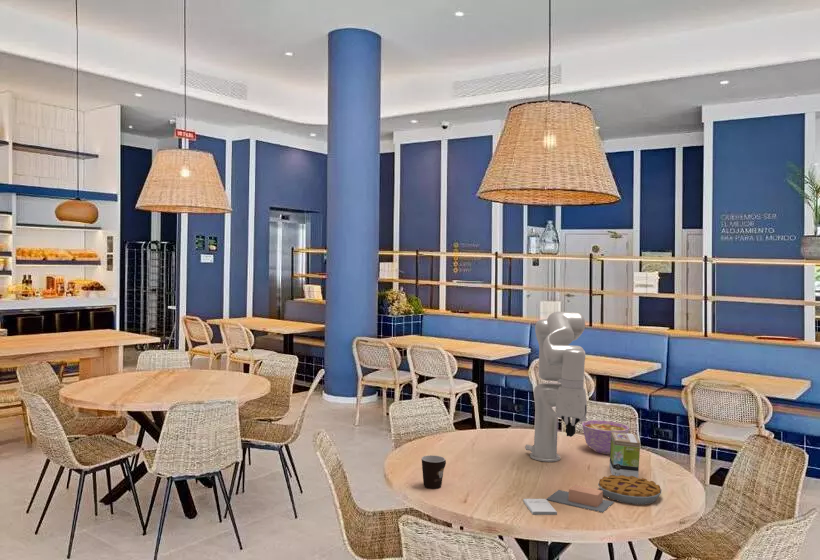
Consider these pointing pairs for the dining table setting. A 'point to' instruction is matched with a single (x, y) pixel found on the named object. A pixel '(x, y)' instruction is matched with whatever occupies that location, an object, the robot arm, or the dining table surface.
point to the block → (585, 495)
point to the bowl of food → (601, 434)
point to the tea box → (624, 454)
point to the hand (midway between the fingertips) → (570, 435)
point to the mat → (564, 497)
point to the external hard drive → (539, 507)
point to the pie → (629, 489)
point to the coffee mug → (433, 471)
